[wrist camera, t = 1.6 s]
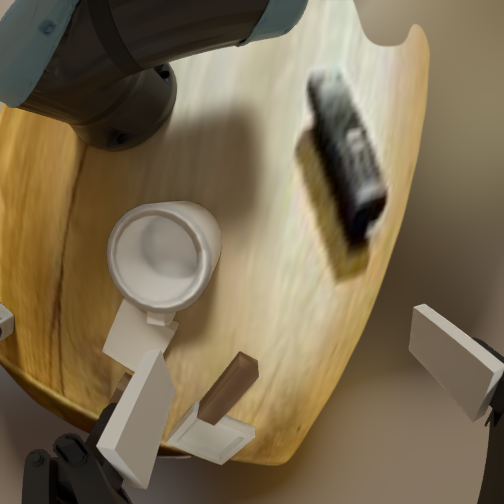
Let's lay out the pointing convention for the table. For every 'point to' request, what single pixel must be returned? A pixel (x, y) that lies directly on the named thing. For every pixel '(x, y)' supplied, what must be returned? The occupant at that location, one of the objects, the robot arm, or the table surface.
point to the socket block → (121, 388)
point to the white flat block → (135, 336)
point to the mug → (164, 256)
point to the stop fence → (228, 388)
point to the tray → (210, 436)
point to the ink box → (5, 322)
